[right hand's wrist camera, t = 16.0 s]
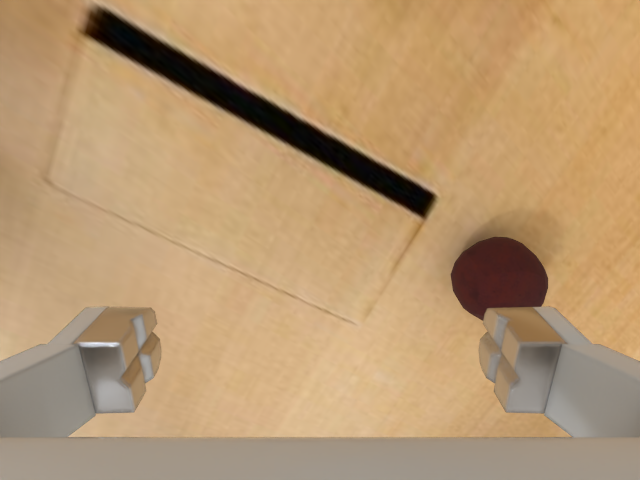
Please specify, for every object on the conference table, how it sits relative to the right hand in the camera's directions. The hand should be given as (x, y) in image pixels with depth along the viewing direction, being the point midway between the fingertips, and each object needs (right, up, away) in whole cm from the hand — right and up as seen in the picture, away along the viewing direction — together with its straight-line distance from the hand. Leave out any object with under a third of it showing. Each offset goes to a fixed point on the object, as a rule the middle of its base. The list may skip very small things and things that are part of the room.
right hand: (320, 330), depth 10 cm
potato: (+16, 0, +29) cm, 33 cm away
